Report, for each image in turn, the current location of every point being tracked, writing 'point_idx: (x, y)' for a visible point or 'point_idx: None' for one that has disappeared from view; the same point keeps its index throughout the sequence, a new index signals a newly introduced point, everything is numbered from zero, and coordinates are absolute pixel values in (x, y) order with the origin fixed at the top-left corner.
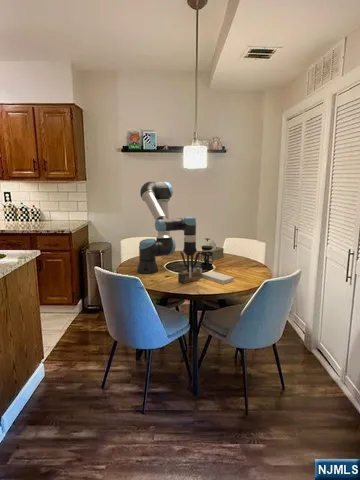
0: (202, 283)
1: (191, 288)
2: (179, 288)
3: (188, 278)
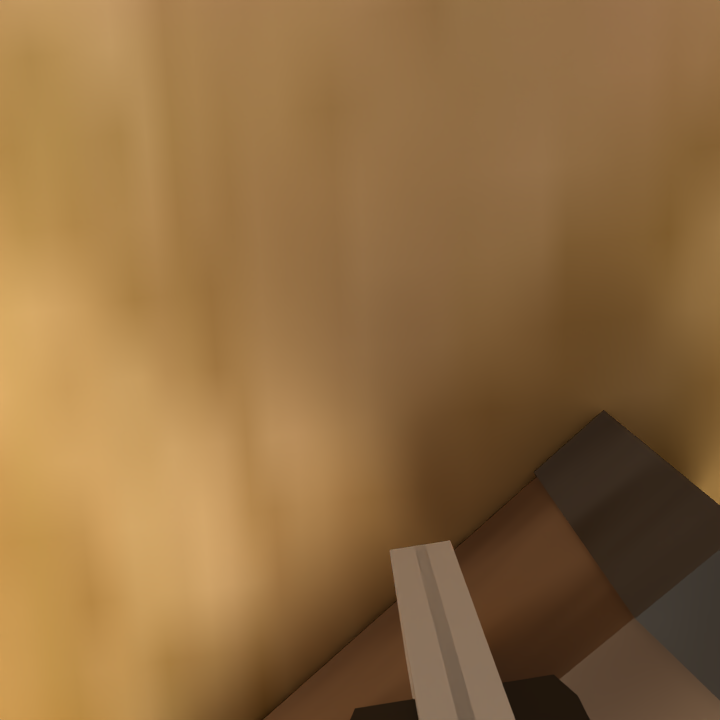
0: (105, 524)
1: (355, 96)
2: (675, 56)
3: None
